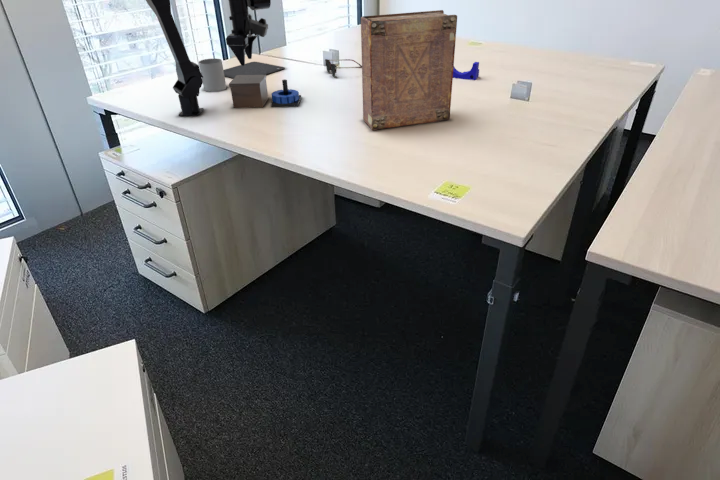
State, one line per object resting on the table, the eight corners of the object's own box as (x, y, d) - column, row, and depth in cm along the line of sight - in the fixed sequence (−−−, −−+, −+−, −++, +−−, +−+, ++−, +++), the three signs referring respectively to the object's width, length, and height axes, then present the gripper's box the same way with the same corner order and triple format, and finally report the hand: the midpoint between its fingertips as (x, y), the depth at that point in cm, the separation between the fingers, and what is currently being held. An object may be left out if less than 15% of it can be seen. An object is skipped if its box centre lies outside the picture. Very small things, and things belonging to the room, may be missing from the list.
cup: (220, 92, 179) (215, 64, 173) (200, 91, 180) (194, 63, 175) (230, 85, 186) (225, 58, 180) (210, 84, 187) (205, 58, 182)
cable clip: (478, 77, 187) (480, 61, 184) (475, 80, 184) (476, 64, 181) (449, 73, 192) (450, 58, 189) (445, 76, 189) (446, 61, 185)
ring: (298, 103, 162) (297, 96, 161) (271, 104, 162) (270, 97, 161) (299, 94, 170) (299, 88, 168) (273, 95, 169) (272, 89, 168)
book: (437, 111, 156) (444, 9, 139) (449, 120, 148) (458, 14, 132) (362, 120, 150) (360, 16, 133) (371, 130, 143) (370, 21, 126)
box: (263, 107, 163) (259, 83, 158) (232, 108, 163) (228, 83, 159) (269, 98, 171) (266, 74, 167) (240, 98, 172) (236, 75, 167)
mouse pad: (245, 81, 190) (245, 80, 190) (213, 73, 200) (212, 72, 200) (286, 68, 205) (286, 67, 205) (254, 62, 215) (253, 61, 215)
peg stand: (297, 106, 163) (295, 83, 159) (271, 106, 163) (268, 84, 159) (301, 98, 170) (299, 76, 166) (276, 98, 171) (273, 76, 166)
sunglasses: (325, 70, 200) (325, 58, 198) (360, 68, 206) (361, 56, 203) (335, 79, 190) (335, 66, 187) (372, 76, 195) (373, 64, 192)
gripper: (257, 16, 147) (263, 69, 155) (270, 7, 162) (275, 55, 171) (221, 16, 147) (230, 69, 156) (237, 7, 163) (244, 55, 171)
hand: (246, 62), depth 163 cm, fingers open, 9 cm apart
